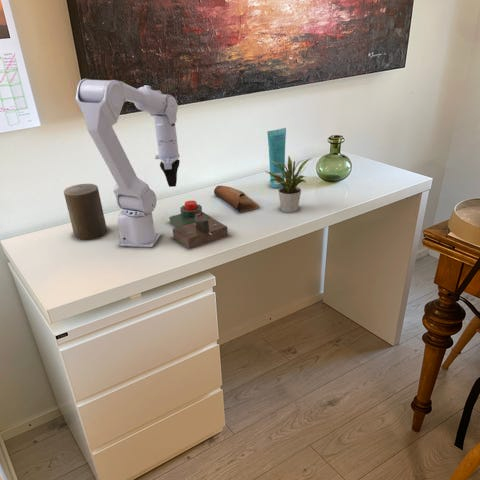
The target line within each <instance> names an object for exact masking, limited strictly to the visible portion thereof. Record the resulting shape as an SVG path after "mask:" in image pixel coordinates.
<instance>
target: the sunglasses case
mask: <svg viewBox="0 0 480 480" xmlns="http://www.w3.org/2000/svg"><path fill="white" fill-rule="evenodd" d="M213 194H214V195H215V196H216V197H218V198H219V199H222V200H223V201H224V202H226V203H228V205H230V206H231V207H233V209H235V210H237V211H238V212H239V213H246V212H250V211H253V210H257V209H258V208H260V206H259V205H258V203H256V202H255V201H254V200H253V199H252V198H251V197H250V196H248V195H246V194H245V192H243V191H242V190H239V189H237V188H234V187H231V186H227V185H217V186H215V188H214V190H213Z"/></svg>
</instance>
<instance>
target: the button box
mask: <svg viewBox="0 0 480 480" xmlns="http://www.w3.org/2000/svg"><path fill="white" fill-rule="evenodd" d="M179 209H180V210H179V212H180V213H178V214H175V215H171V216H169V217H168V218H169V223H170V224H171V225H172V226H174V228H177V227H180V226H183V225H187V224H190V223H193V222H195V214H199V213H200V214H201V215H202V216H203V217H205V218H210V217H211V215H209V214H207V213H206V212H204V211H203V206H202V205H201V204H199V203H197V209H196V210H190V211H189V210H185V204H183V205H182V206H181V207H180V208H179ZM211 218H212V217H211Z"/></svg>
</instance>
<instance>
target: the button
mask: <svg viewBox="0 0 480 480" xmlns="http://www.w3.org/2000/svg"><path fill="white" fill-rule="evenodd" d="M197 204H198V202H197V201H196V200H187V201H185V202H184V205H185V210H189V211H190V210H196V209H197Z"/></svg>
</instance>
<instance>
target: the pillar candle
mask: <svg viewBox="0 0 480 480" xmlns="http://www.w3.org/2000/svg"><path fill="white" fill-rule="evenodd" d="M63 196H64V199H65V203H66V207H67V211H68V216H69V220H70V224H71V228H72V232H73V236H74V237H75V238H76V239H79V240H82V241H87V240H90V241H91V240H94V239H95V240H96V239H100V238H102V237H103V236H104V235H106V234H107V233H108V228H107V223H106V219H105V214H104V210H103V205H102V200H101V195H100V191H99V186H98V185H97V184H94V183H79V184H74V185H71V186H68V187H66V188H65V189H64V190H63Z"/></svg>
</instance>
